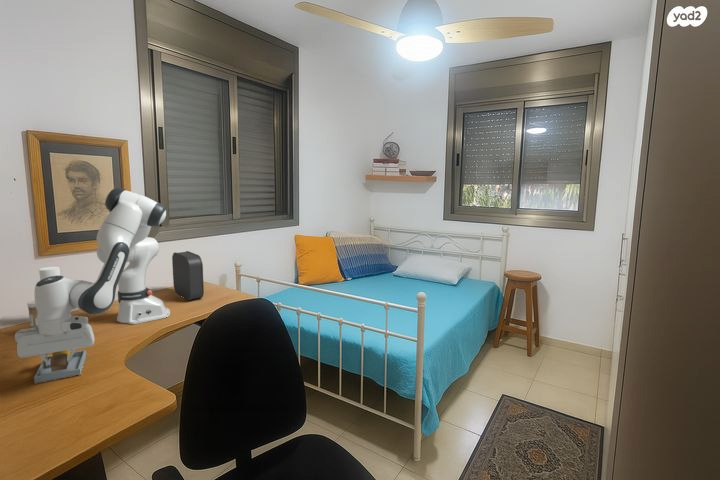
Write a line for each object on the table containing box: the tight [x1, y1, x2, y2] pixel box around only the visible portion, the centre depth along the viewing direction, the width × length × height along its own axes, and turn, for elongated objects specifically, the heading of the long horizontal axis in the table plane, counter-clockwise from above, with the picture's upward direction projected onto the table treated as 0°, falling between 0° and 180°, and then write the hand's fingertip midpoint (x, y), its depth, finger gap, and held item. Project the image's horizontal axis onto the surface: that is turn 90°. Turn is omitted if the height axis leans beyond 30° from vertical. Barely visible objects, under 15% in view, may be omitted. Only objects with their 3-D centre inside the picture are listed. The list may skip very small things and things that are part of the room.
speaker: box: [171, 250, 205, 301], centre depth 211 cm, size 25×9×25 cm, turn 46°
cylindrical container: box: [38, 266, 61, 281], centre depth 170 cm, size 7×7×25 cm
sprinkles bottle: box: [27, 300, 38, 328], centre depth 159 cm, size 5×5×14 cm
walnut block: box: [50, 353, 68, 372], centre depth 125 cm, size 4×4×4 cm
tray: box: [33, 349, 87, 384], centre depth 130 cm, size 12×16×2 cm
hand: (59, 363), depth 125 cm, fingers closed on walnut block, 4 cm apart
